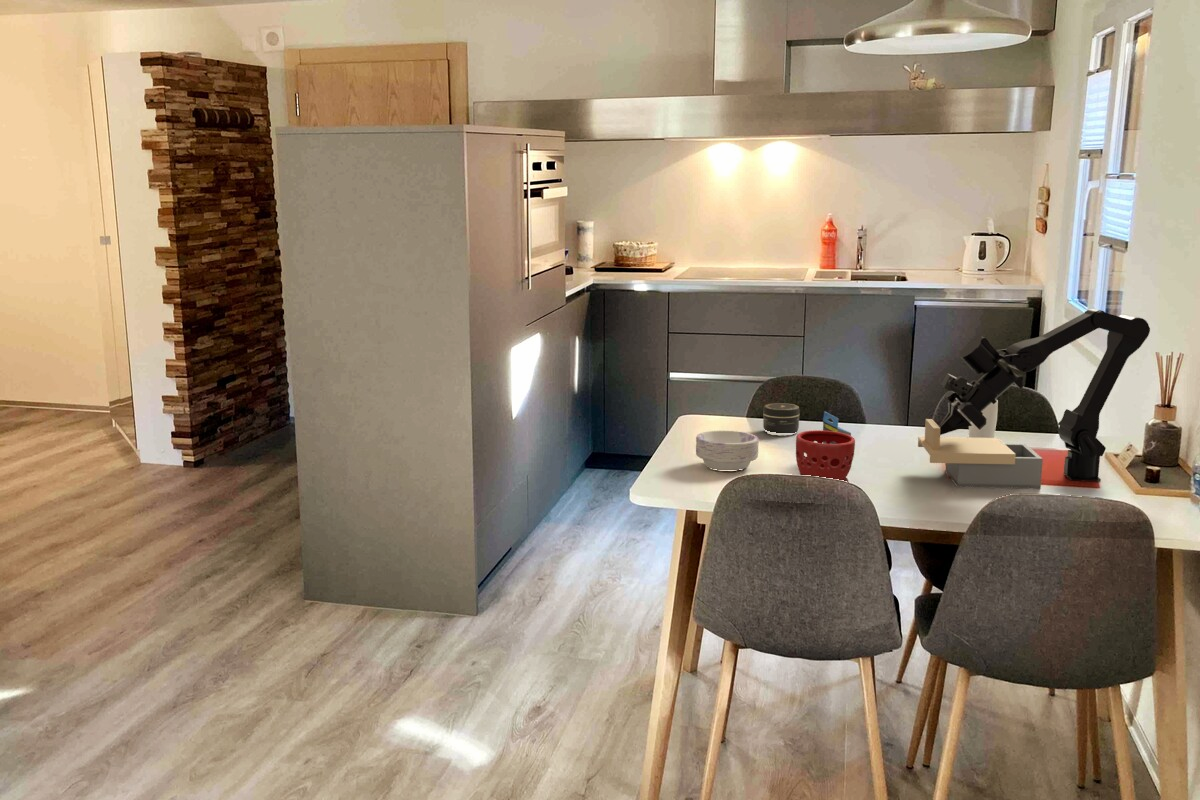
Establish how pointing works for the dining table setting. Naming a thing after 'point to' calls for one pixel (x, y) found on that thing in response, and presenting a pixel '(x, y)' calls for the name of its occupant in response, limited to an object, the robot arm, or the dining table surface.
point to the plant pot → (825, 454)
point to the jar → (781, 418)
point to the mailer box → (1000, 471)
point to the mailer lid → (963, 448)
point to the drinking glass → (990, 426)
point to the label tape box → (832, 426)
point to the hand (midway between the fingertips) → (937, 433)
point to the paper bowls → (727, 449)
